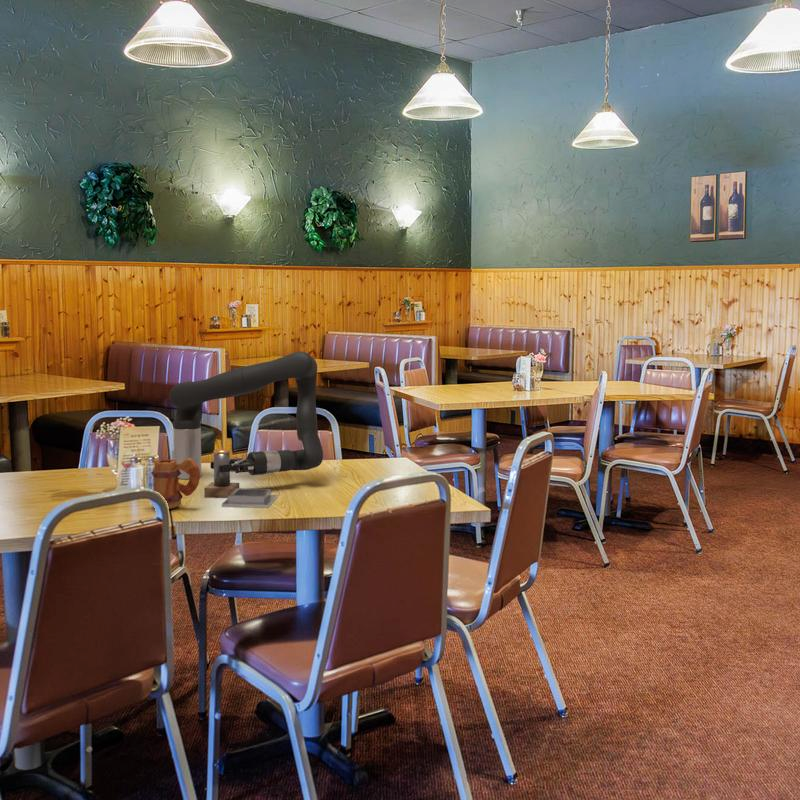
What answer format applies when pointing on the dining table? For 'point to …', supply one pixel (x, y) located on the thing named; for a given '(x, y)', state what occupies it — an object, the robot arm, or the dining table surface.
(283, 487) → the dining table surface
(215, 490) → the stand
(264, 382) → the robot arm
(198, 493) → the dining table surface
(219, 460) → the grey metal cylinder
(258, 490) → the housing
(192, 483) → the mug
